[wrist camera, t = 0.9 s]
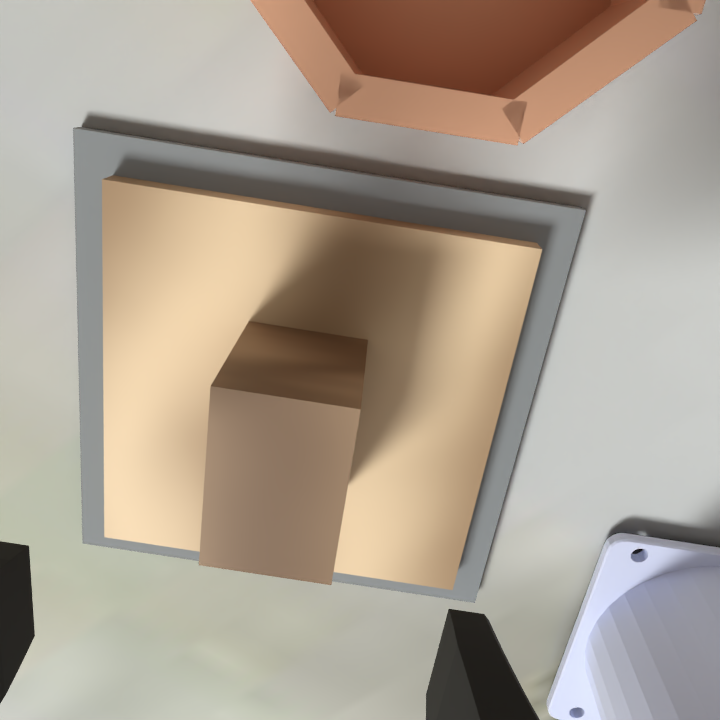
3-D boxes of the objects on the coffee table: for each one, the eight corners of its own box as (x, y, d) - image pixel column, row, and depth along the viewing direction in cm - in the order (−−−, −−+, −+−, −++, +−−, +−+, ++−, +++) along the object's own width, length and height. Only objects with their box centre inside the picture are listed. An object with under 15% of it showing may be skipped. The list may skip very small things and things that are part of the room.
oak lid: (536, 242, 17) (584, 299, 13) (450, 574, 22) (464, 700, 17) (112, 175, 17) (17, 210, 13) (113, 523, 21) (41, 636, 17)
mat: (582, 207, 17) (585, 210, 17) (473, 593, 22) (474, 602, 22) (80, 127, 17) (73, 128, 17) (88, 535, 22) (82, 543, 22)
